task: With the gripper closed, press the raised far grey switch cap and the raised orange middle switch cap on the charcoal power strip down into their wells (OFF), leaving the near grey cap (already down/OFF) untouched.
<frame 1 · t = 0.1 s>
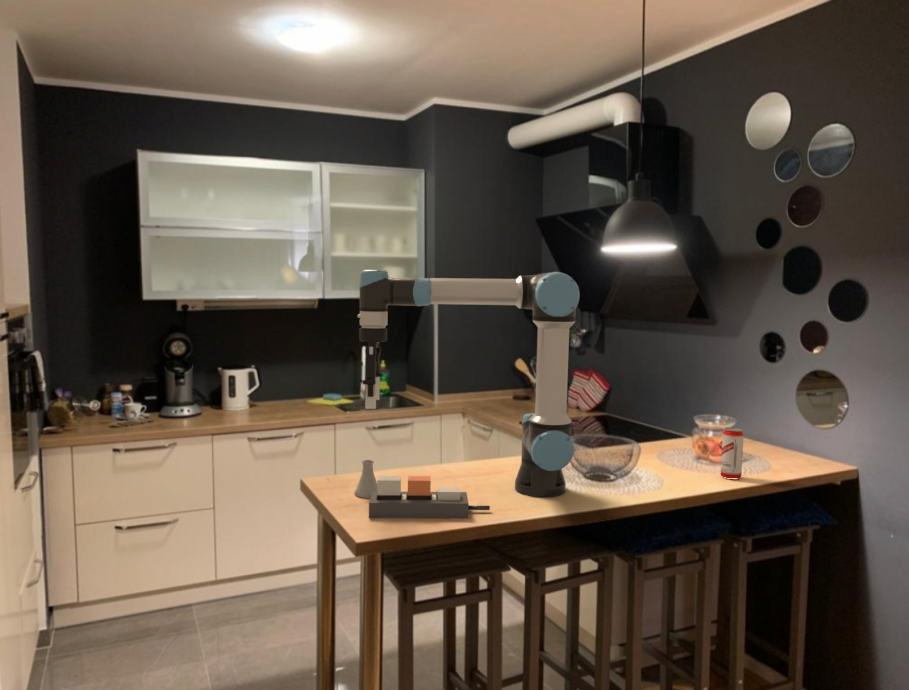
hand: (372, 404, 196), 28 cm above the breakfast bar, fingers open, 13 cm apart
switch a: (448, 496, 192), point 4 cm above the breakfast bar, slide at 0.0 cm
power strip: (418, 511, 192), on the breakfast bar
beer can: (730, 478, 230), on the breakfast bar
switch c: (389, 485, 191), point 7 cm above the breakfast bar, slide at 3.0 cm
flask: (367, 495, 206), on the breakfast bar
switch b: (419, 485, 191), point 7 cm above the breakfast bar, slide at 3.0 cm
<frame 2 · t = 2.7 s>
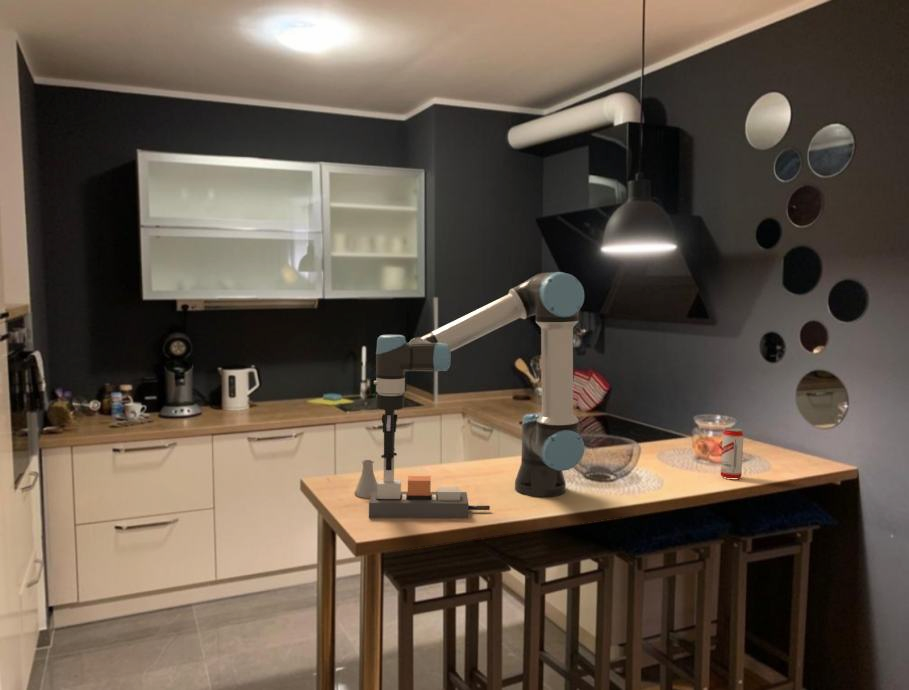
hand: (388, 480, 191), 8 cm above the breakfast bar, fingers closed
switch c: (389, 489, 191), point 6 cm above the breakfast bar, slide at 2.0 cm, touching gripper
everything else where it was.
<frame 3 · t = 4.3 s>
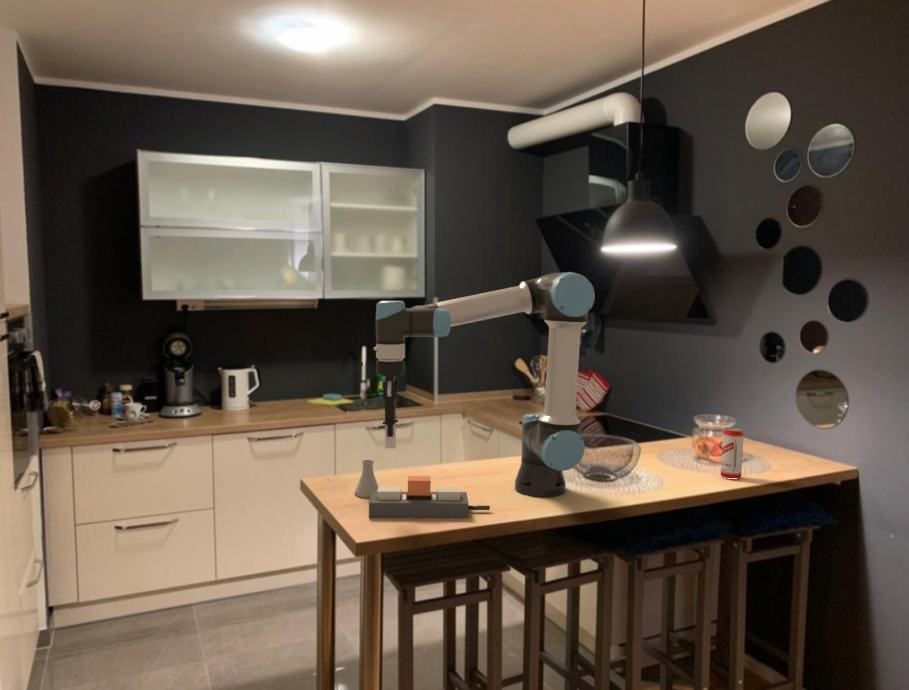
hand: (390, 447, 190), 17 cm above the breakfast bar, fingers closed
switch c: (389, 496, 191), point 4 cm above the breakfast bar, slide at 0.0 cm
everything else where it was.
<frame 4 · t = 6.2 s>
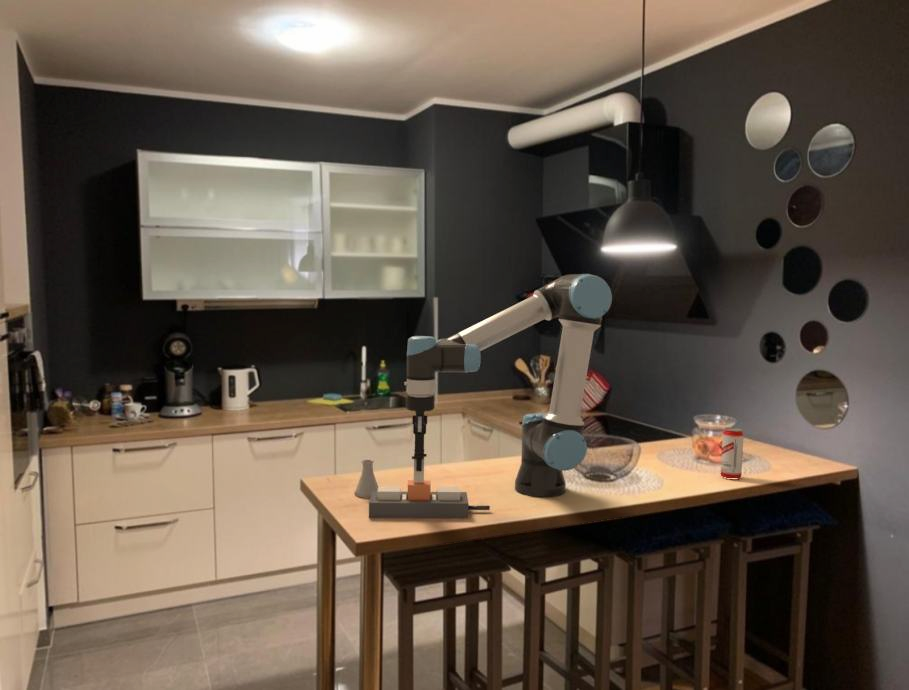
hand: (418, 481, 191), 8 cm above the breakfast bar, fingers closed
switch b: (419, 490, 191), point 6 cm above the breakfast bar, slide at 1.8 cm, touching gripper
everything else where it was.
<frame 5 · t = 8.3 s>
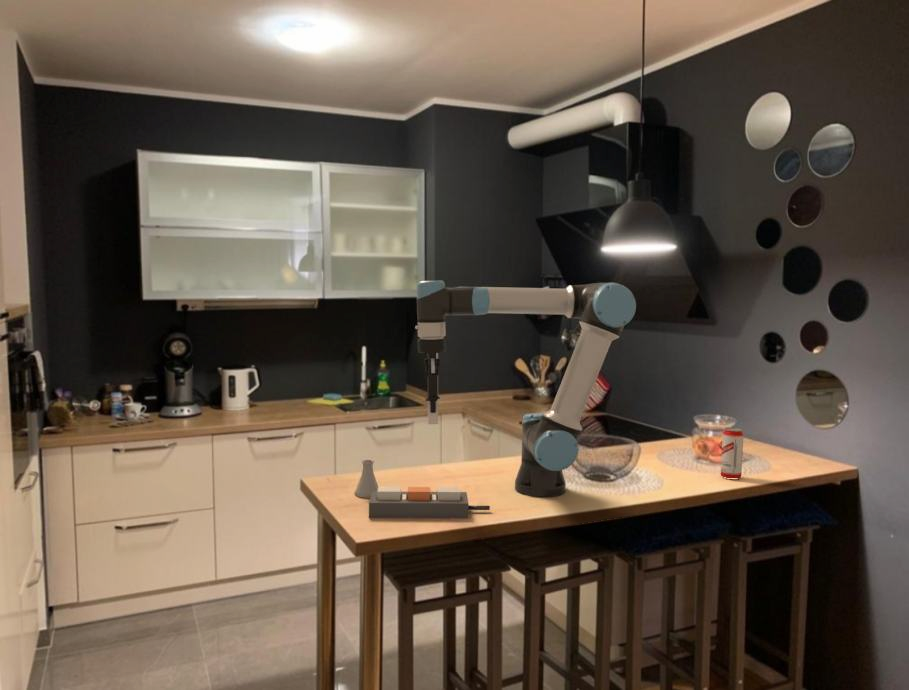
hand: (433, 423, 195), 23 cm above the breakfast bar, fingers closed
switch b: (419, 496, 192), point 4 cm above the breakfast bar, slide at 0.0 cm
everything else where it was.
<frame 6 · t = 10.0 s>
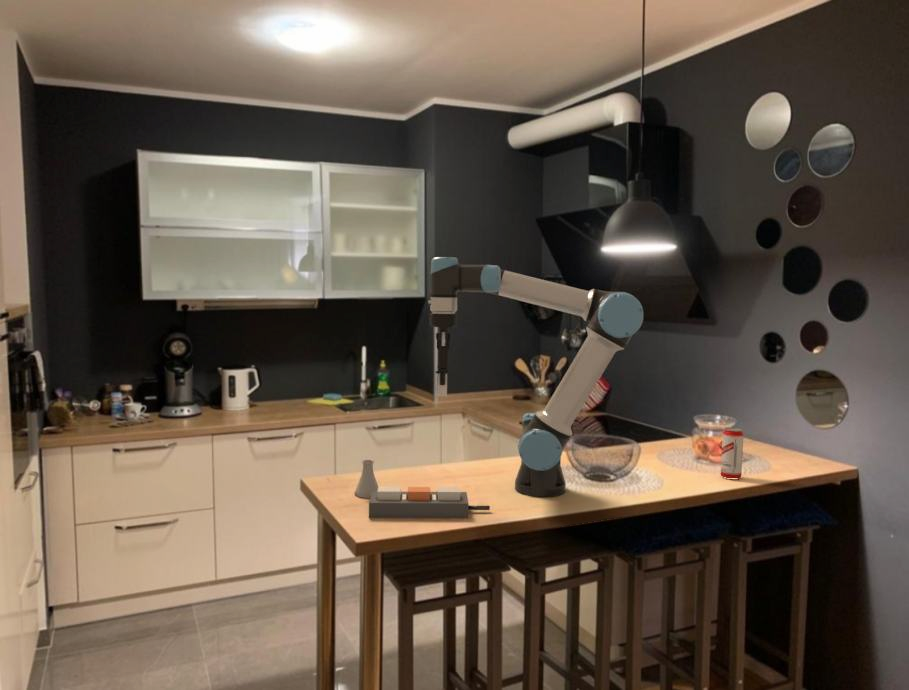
hand: (442, 395, 202), 29 cm above the breakfast bar, fingers closed
nothing on the breakfast bar moved.
at the end: switch c slide at 0.0 cm; switch b slide at 0.0 cm; switch a slide at 0.0 cm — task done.
